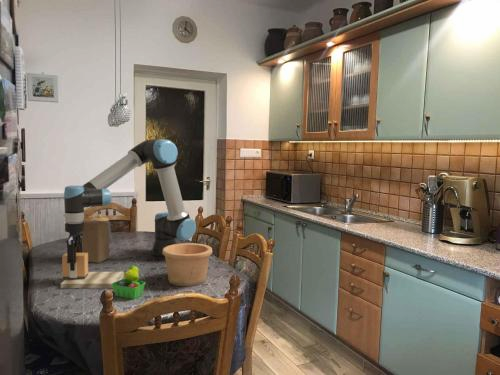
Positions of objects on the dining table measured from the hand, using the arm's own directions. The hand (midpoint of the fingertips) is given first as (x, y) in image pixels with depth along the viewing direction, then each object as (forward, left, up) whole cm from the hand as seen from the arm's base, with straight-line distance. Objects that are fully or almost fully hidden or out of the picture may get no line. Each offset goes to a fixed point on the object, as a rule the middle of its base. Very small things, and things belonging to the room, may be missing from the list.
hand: (75, 275), depth 172 cm
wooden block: (0, -34, -3) cm, 34 cm away
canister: (+8, -73, -3) cm, 73 cm away
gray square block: (+6, 0, -3) cm, 7 cm away
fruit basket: (-26, +16, -3) cm, 30 cm away
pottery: (-48, -1, -3) cm, 48 cm away
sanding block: (0, 0, -1) cm, 1 cm away
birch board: (-8, 0, -3) cm, 8 cm away
